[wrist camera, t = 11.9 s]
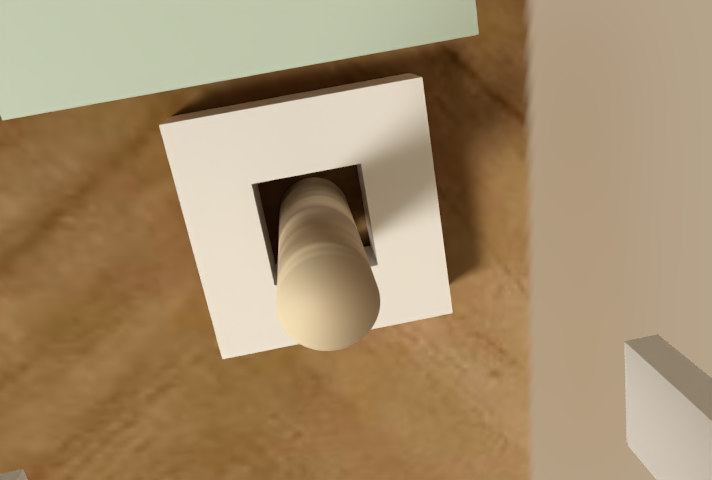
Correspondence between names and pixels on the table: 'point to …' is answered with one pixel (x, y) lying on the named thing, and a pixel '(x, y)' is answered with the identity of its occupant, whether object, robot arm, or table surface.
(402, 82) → the socket block
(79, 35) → the mint green toy table
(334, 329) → the peg
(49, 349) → the table surface
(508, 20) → the table surface
